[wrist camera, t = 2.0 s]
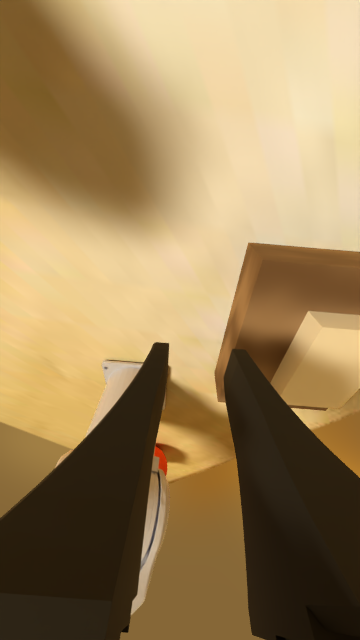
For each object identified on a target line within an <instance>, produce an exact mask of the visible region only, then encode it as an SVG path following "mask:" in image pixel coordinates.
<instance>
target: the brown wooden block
mask: <svg viewBox="0 0 360 640" xmlns="http://www.w3.org/2000/svg"><path fill="white" fill-rule="evenodd" d="M308 311H316V312H327V313H339V314H351V315H360V252H352V251H340V250H329V249H317V248H305V247H294V246H282V245H270V244H259V243H248V246H247V250H246V254H245V258H244V262H243V266H242V269H241V273H240V277H239V281H238V285H237V289H236V292H235V296H234V300H233V304H232V308H231V312H230V316H229V319H228V323H227V327H226V331H225V335H224V339H223V342H222V346H221V350H220V354H219V358H218V362H217V366H216V369H215V381H216V390H217V398H218V402H225V403H226V401H225V392H224V379H223V377H224V374H225V371H226V367H227V364H228V361H229V358H230V354H231V351H232V349H243V350H246V351H247V352H248V354H249V355H250V356H251V358H252V359H253V361H254V362H255V363H256V365H257V366H258V367H259V369H260V370H261V372H262V373H263V374H264V376H265V377H266V378H267V380H268V381H269V382H271V380H272V379H273V377H274V375H275V373H276V371H277V369H278V367H279V365H280V363H281V362H282V360H283V358H284V356H285V354H286V352H287V350H288V348H289V346H290V344H291V343H292V341H293V339H294V337H295V335H296V333H297V331H298V329H299V327H300V326H301V324H302V322H303V320H304V318H305V316H306V314H307V312H308ZM288 406H289V407H290V408H300V409H313V410H325V411H326V410H327V409H328V408H321V407H309V406H296V405H288Z"/></svg>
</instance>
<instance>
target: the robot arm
mask: <svg viewBox="0 0 360 640" xmlns="http://www.w3.org/2000/svg"><path fill="white" fill-rule="evenodd" d="M168 356H169V343H158V342H156V343H154V344H153V346H152V348H151V351H150V353H149V354H148V356H147V358H146V360H145V361H144V363H132V362H120V361H108V360H105V361H103V362H102V368H103V373H104V377H105V381H106V386H105V389H104V391H103V394H102V396H101V399H100V401H99V404H98V406H97V409H96V411H95V414H94V416H93V419H92V421H91V424H90V426H89V429H88V431H87V434H86V436H85V439H84V440H83V441H82V442H81V443H80V444H79V445H78V446H77V447H76V448H75V449H74V450H69V452H68V453H66V454H64V455H62V456H61V458H60V459H59V461H58V463H57V465H56V467H55V469H54V470H53V471H52V472H51V473H50V474H49V475H48V476H47V477H45V478H44V479H43V480H42V481H41V482H40V483H39V484H38V485H37V486H36V487H35V488H34V489H33V490H32V491H30V492H29V493H28V494H27V495H26V496H25V497H24V498H23V499H21V500H20V501H19V502H18V503H17V504H16V505H15V506H14V507H12V508H11V509H10V510H9V511H8V512H7V513H6V514H5V515H3V516H2V517H1V518H0V640H119V639H120V633H121V632H128V630H129V623H130V615H132V614H133V613H134V612H135V611H136V610H137V609H138V608H139V607H140V606H141V604H142V603H143V602H144V600H145V598H146V592H147V588H148V587H149V584H150V580H151V576H152V572H153V568H154V564H155V561H156V557H157V555H158V552H159V550H160V548H161V546H162V543H163V540H164V537H165V533H166V528H167V522H168V515H169V502H170V496H169V486H168V481H167V479H166V476H165V473H164V471H163V470H161V469H158V467H159V457H156V456H154V453H155V445H156V438H157V433H158V428H159V423H160V418H161V413H162V410H164V409H165V401H166V383H167V374H168ZM223 379H224V392H225V401H226V406H227V412H228V417H229V422H230V427H231V432H232V437H233V442H234V447H235V453H236V459H237V467H238V476H239V484H240V495H241V505H242V516H243V527H244V528H243V529H244V542H245V554H246V570H247V586H248V608H249V616H250V624H251V631H252V635H254V636H257V637H260V638H263V639H265V640H360V478H359V477H358V476H357V475H356V474H355V473H354V472H353V471H352V470H350V468H348V467H347V466H346V465H345V464H344V463H343V462H342V461H341V460H340V459H339V458H338V457H337V456H336V455H334V454H333V453H332V452H331V451H330V450H329V449H328V448H327V447H326V446H325V445H324V444H323V443H322V442H321V441H320V440H319V439H318V438H317V437H316V436H315V434H314V433H313V432H312V431H311V430H310V429H309V428H308V427H307V426H306V425H305V424H304V423H303V422H302V421H301V420H300V419H299V417H298V416H297V415H296V414H295V413H294V412H293V411H292V409H291V408H290V407H289V406H288V405H287V404H286V402H285V401H284V400H283V399H282V397H281V396H280V395H279V394H278V392H277V391H276V390H275V389H274V387H273V386H272V385H271V384H270V382H269V381H268V380H267V378H266V377H265V376H264V374H263V373H262V372H261V370H260V369H259V367H258V366H257V365H256V363H255V362H254V361H253V359H252V358H251V356H250V355H249V354H248V352H247V351H246V350H243V349H232V351H231V354H230V358H229V361H228V364H227V367H226V371H225V374H224V377H223Z"/></svg>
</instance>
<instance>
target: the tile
mask: <svg viewBox="0 0 360 640" xmlns="http://www.w3.org/2000/svg"><path fill="white" fill-rule="evenodd" d="M270 384H271V385H272V386H273V387H274V389H275V390H276V391H277V392H278V394H279V395H280V396H281V397H282V399H283V400H284V401H285V402H286V404H287V405H296V406H309V407H321V408H333V409H340V408H341V407H342V406H343V405H344V404H345V403H346V402H347V401H348V400H349V399H350V398H351V397H352V396H353V395H354V394H355V393H356V392H357V391H358V390H359V389H360V315H351V314H339V313H327V312H316V311H308V312H307V314H306V316H305V318H304V320H303V322H302V324H301V326H300V327H299V329H298V331H297V333H296V335H295V337H294V339H293V341H292V343H291V344H290V346H289V348H288V350H287V352H286V354H285V356H284V358H283V360H282V362H281V363H280V365H279V367H278V369H277V371H276V373H275V375H274V377H273V379H272V380H271V382H270Z"/></svg>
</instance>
